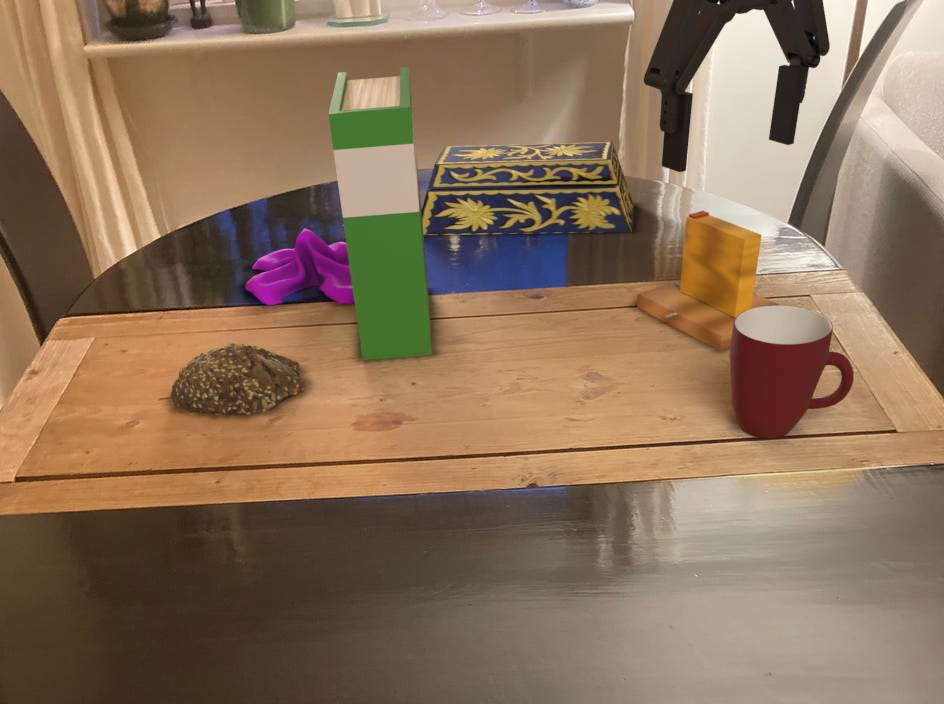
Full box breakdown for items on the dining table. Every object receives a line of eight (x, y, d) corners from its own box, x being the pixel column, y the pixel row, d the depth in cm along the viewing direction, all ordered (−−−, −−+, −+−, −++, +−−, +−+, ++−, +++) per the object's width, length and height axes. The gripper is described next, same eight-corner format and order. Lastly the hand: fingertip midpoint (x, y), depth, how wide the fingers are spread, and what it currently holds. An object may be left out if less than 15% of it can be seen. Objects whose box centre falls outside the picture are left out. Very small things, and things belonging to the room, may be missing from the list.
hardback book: (367, 299, 115) (338, 72, 99) (428, 294, 115) (408, 66, 99) (363, 363, 102) (328, 113, 86) (432, 358, 102) (410, 107, 86)
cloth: (389, 305, 113) (383, 253, 109) (234, 317, 113) (222, 264, 109) (393, 240, 130) (388, 193, 126) (258, 250, 130) (248, 203, 126)
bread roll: (157, 409, 97) (143, 363, 93) (230, 358, 105) (220, 314, 102) (260, 430, 92) (250, 383, 89) (328, 375, 100) (321, 329, 97)
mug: (827, 407, 89) (849, 301, 82) (850, 451, 83) (876, 341, 76) (712, 410, 90) (725, 306, 83) (727, 455, 84) (742, 346, 77)
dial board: (803, 325, 102) (807, 306, 101) (707, 358, 98) (709, 338, 96) (716, 286, 112) (718, 267, 110) (624, 314, 107) (625, 295, 106)
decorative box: (425, 212, 138) (419, 145, 132) (635, 208, 134) (639, 138, 128) (412, 238, 130) (406, 168, 124) (635, 235, 126) (639, 161, 120)
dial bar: (750, 312, 101) (762, 232, 95) (734, 317, 100) (745, 237, 95) (695, 286, 107) (702, 209, 101) (679, 291, 106) (686, 214, 101)
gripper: (837, -136, 86) (796, 124, 100) (612, -109, 78) (601, 171, 92) (903, -135, 81) (850, 138, 95) (671, -106, 73) (650, 189, 87)
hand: (728, 155), depth 93 cm, fingers open, 13 cm apart
